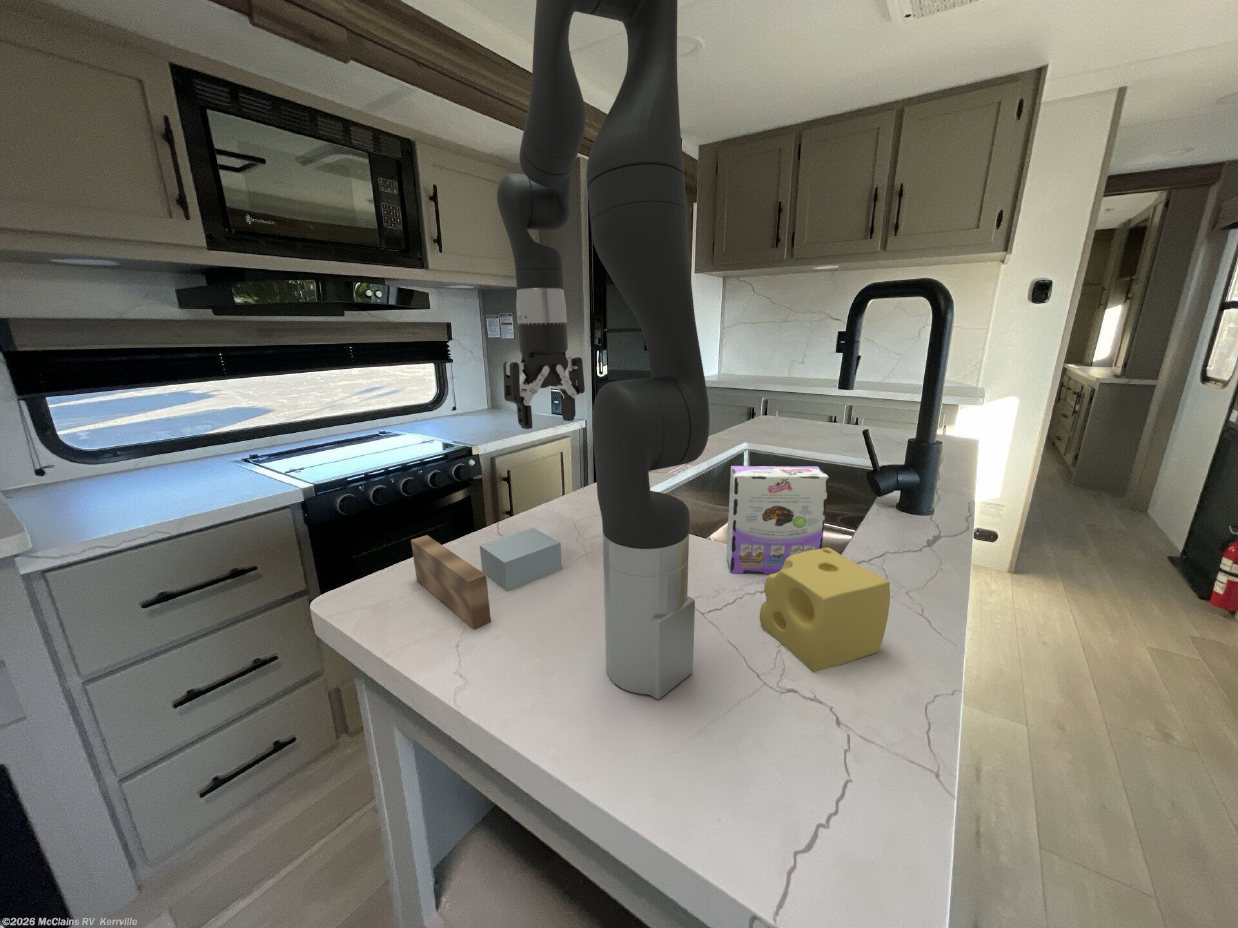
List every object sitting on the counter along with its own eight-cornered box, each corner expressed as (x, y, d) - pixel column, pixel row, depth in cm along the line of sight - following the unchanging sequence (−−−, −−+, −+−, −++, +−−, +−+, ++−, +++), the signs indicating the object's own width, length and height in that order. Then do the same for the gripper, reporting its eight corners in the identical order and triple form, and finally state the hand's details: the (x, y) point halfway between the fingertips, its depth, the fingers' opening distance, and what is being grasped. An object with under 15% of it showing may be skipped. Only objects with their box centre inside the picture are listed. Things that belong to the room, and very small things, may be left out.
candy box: (809, 559, 83) (819, 464, 78) (819, 577, 77) (831, 476, 72) (725, 556, 84) (730, 463, 79) (729, 574, 78) (734, 474, 74)
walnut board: (490, 621, 67) (486, 574, 65) (473, 629, 65) (468, 581, 63) (432, 575, 79) (426, 535, 77) (416, 580, 78) (410, 539, 76)
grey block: (561, 570, 81) (560, 542, 79) (507, 592, 74) (504, 562, 73) (535, 553, 86) (533, 527, 85) (482, 573, 80) (479, 545, 79)
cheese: (757, 626, 65) (762, 557, 62) (823, 609, 69) (831, 543, 66) (814, 678, 56) (823, 599, 53) (886, 654, 59) (898, 580, 56)
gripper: (517, 320, 69) (525, 434, 73) (592, 320, 79) (596, 420, 83) (488, 322, 74) (498, 428, 78) (562, 321, 84) (567, 415, 88)
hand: (548, 424), depth 81 cm, fingers open, 8 cm apart
